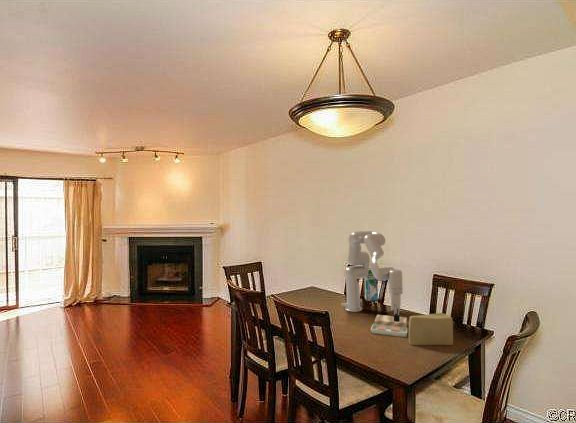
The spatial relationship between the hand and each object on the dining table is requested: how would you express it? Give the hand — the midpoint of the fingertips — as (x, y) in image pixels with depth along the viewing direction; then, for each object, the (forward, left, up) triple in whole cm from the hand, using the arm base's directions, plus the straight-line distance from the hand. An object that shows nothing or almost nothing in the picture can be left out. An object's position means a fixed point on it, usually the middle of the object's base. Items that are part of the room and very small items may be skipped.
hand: (396, 321), depth 196 cm
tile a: (-8, -6, -3) cm, 10 cm away
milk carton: (-25, +67, -6) cm, 71 cm away
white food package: (-4, +7, -6) cm, 9 cm away
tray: (-4, -5, -6) cm, 8 cm away
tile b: (0, -4, -3) cm, 5 cm away
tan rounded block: (+18, -14, -6) cm, 23 cm away
